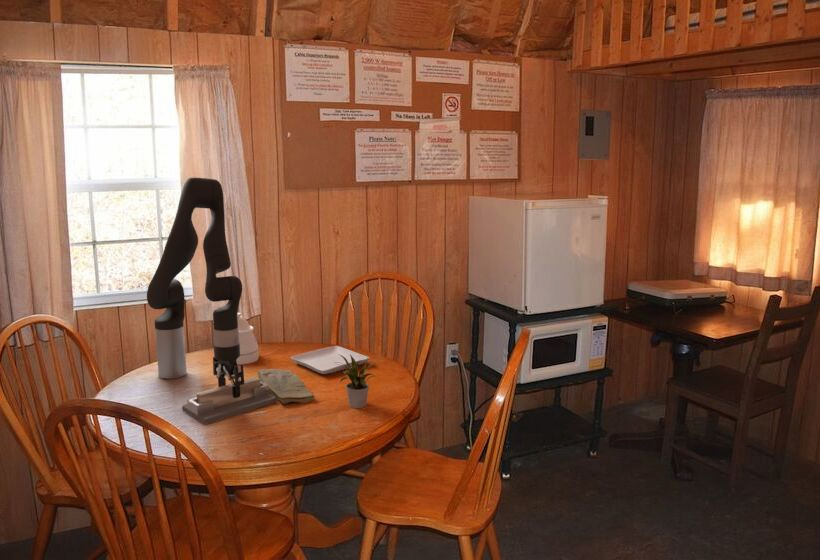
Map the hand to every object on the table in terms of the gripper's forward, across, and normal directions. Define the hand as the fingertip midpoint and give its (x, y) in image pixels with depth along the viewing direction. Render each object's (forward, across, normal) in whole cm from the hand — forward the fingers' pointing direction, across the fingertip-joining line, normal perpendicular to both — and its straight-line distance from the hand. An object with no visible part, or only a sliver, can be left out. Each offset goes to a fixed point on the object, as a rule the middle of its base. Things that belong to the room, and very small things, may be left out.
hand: (229, 393), depth 202 cm
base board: (+4, 0, 0) cm, 4 cm away
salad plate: (+5, +10, -46) cm, 47 cm away
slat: (+3, 0, 0) cm, 3 cm away
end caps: (+3, 0, 0) cm, 3 cm away
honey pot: (+4, +38, -26) cm, 46 cm away
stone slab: (+5, +2, -20) cm, 21 cm away
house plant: (+4, -25, -28) cm, 38 cm away
